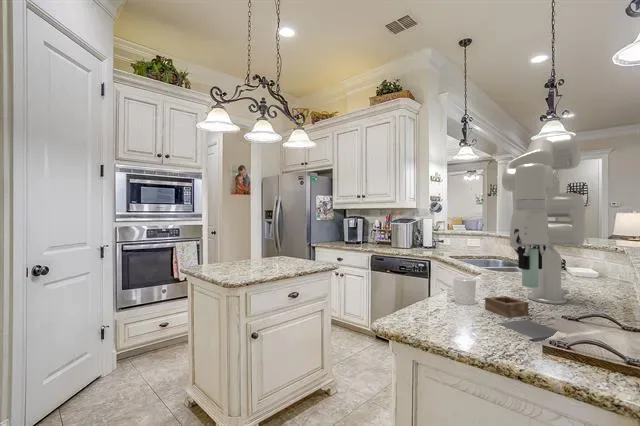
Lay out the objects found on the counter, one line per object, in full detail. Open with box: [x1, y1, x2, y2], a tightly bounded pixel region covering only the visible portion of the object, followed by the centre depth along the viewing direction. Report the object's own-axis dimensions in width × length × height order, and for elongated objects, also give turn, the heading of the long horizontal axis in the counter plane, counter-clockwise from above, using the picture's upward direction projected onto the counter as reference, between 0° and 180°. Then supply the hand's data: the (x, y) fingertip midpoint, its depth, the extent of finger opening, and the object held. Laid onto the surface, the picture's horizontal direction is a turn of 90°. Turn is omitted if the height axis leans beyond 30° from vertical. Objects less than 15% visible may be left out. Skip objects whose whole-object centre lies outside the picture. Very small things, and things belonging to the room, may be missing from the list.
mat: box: [496, 319, 559, 343], centre depth 92 cm, size 12×12×1 cm
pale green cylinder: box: [521, 247, 538, 289], centre depth 92 cm, size 4×4×11 cm
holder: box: [484, 295, 529, 318], centre depth 107 cm, size 9×9×5 cm
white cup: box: [452, 276, 477, 306], centre depth 119 cm, size 8×8×10 cm
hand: (530, 268), depth 92 cm, fingers closed on pale green cylinder, 4 cm apart
